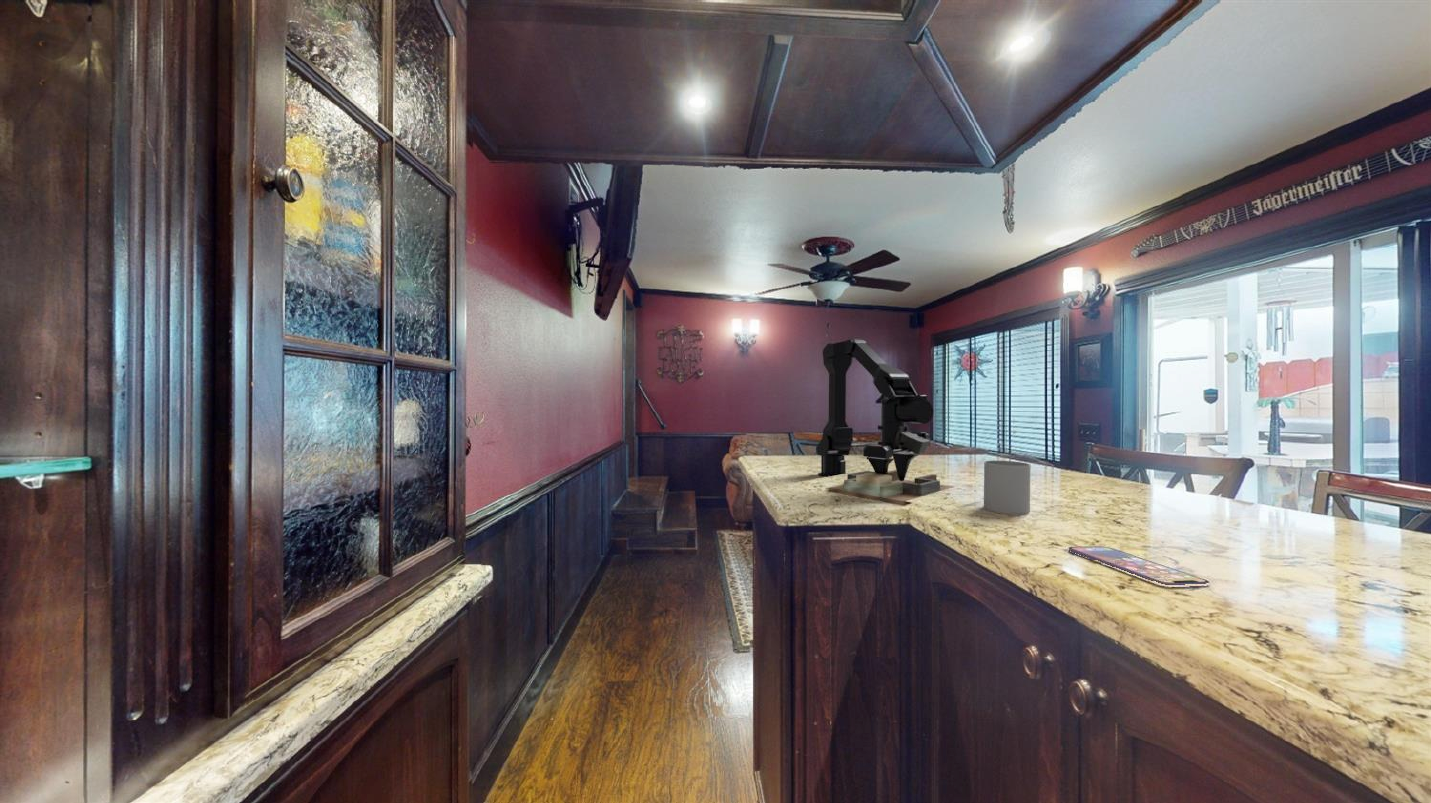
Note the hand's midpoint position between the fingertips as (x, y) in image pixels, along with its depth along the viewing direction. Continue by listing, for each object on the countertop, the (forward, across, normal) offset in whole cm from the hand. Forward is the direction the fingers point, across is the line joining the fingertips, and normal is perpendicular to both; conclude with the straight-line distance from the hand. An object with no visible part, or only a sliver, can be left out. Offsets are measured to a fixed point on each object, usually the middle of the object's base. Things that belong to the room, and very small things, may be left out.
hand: (892, 482), depth 122 cm
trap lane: (+2, 0, 0) cm, 2 cm away
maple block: (+1, -9, 0) cm, 9 cm away
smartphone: (+3, -24, -50) cm, 55 cm away
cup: (+2, 0, -26) cm, 26 cm away
